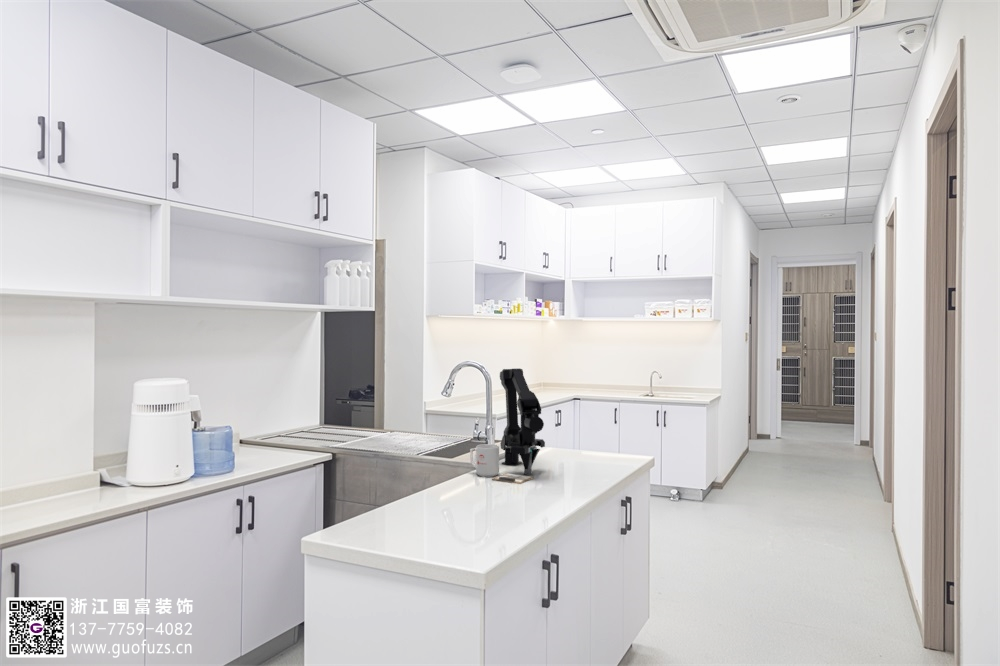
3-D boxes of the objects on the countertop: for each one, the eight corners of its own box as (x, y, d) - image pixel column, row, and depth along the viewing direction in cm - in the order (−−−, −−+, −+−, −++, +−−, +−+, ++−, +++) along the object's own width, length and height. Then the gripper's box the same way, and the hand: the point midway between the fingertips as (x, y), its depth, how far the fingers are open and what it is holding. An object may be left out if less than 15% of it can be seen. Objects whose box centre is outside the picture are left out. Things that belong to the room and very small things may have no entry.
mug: (503, 473, 261) (503, 445, 261) (492, 478, 253) (492, 449, 253) (476, 470, 266) (476, 442, 266) (464, 475, 258) (464, 446, 258)
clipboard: (505, 474, 259) (505, 470, 259) (533, 477, 254) (533, 474, 254) (491, 480, 250) (491, 476, 250) (520, 483, 244) (520, 480, 244)
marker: (526, 472, 261) (526, 448, 261) (533, 473, 260) (533, 449, 260) (522, 474, 259) (522, 450, 258) (529, 475, 257) (529, 450, 257)
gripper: (520, 423, 271) (520, 461, 271) (498, 429, 255) (498, 470, 255) (545, 425, 266) (545, 464, 266) (524, 432, 249) (524, 473, 249)
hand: (527, 468), depth 259 cm, fingers closed on marker, 3 cm apart
